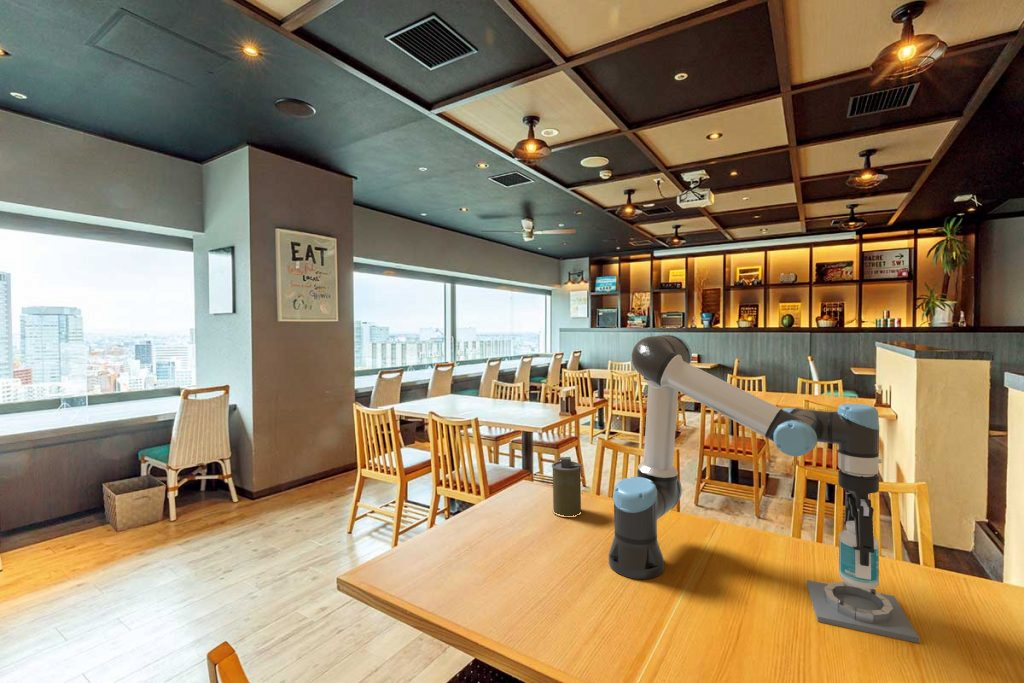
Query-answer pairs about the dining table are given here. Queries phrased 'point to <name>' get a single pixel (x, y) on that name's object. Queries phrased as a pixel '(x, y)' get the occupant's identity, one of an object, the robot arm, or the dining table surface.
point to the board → (894, 628)
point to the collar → (856, 613)
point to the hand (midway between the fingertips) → (858, 568)
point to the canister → (566, 487)
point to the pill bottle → (848, 559)
